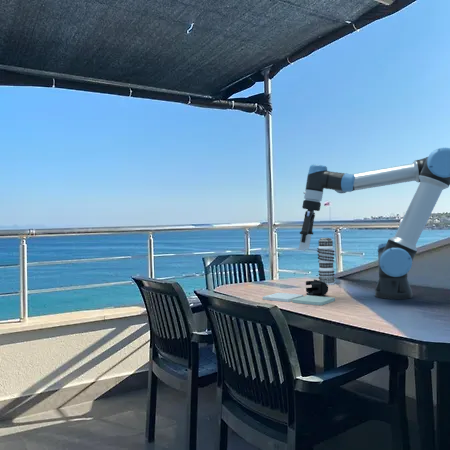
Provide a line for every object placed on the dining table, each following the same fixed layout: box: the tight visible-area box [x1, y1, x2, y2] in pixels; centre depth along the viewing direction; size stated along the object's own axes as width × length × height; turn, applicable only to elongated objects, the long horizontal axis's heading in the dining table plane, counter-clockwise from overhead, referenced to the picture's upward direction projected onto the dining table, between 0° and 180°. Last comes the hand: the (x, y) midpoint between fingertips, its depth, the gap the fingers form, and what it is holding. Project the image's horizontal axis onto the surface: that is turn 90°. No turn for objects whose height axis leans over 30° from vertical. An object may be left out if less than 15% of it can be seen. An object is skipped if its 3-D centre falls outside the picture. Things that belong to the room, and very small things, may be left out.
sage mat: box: [291, 294, 336, 306], centre depth 177 cm, size 13×13×1 cm
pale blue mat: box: [262, 292, 304, 303], centre depth 186 cm, size 13×13×1 cm
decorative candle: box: [316, 237, 336, 286], centre depth 230 cm, size 9×9×25 cm
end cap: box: [305, 278, 329, 297], centre depth 193 cm, size 10×7×7 cm
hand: (303, 249), depth 183 cm, fingers open, 13 cm apart
